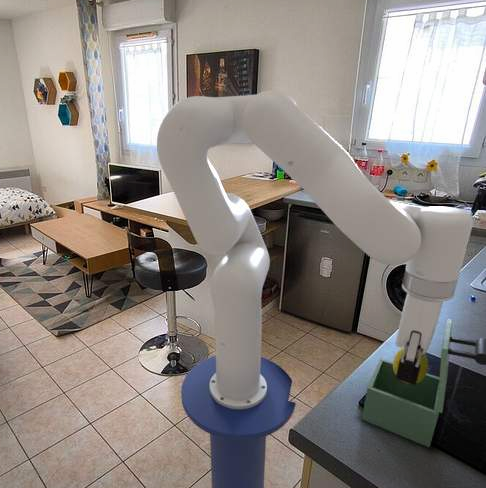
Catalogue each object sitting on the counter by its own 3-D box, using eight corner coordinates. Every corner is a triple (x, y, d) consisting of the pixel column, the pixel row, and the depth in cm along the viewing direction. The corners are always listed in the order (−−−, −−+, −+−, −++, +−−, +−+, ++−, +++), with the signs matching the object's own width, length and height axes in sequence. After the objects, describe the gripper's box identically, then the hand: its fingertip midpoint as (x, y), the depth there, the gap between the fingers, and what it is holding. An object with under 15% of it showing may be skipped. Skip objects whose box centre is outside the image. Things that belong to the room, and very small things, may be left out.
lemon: (425, 396, 64) (435, 359, 61) (391, 389, 66) (399, 353, 63) (420, 376, 69) (428, 341, 66) (388, 370, 71) (395, 335, 68)
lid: (441, 348, 57) (492, 358, 53) (447, 318, 65) (491, 325, 61) (436, 411, 61) (483, 424, 57) (442, 376, 69) (483, 385, 65)
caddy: (361, 419, 70) (367, 388, 67) (374, 387, 78) (379, 357, 75) (429, 447, 64) (438, 414, 61) (435, 409, 72) (444, 378, 69)
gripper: (411, 260, 68) (395, 341, 75) (394, 298, 55) (376, 391, 62) (459, 269, 64) (437, 353, 71) (452, 311, 51) (426, 409, 58)
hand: (408, 370), depth 67 cm, fingers closed on lemon, 5 cm apart
